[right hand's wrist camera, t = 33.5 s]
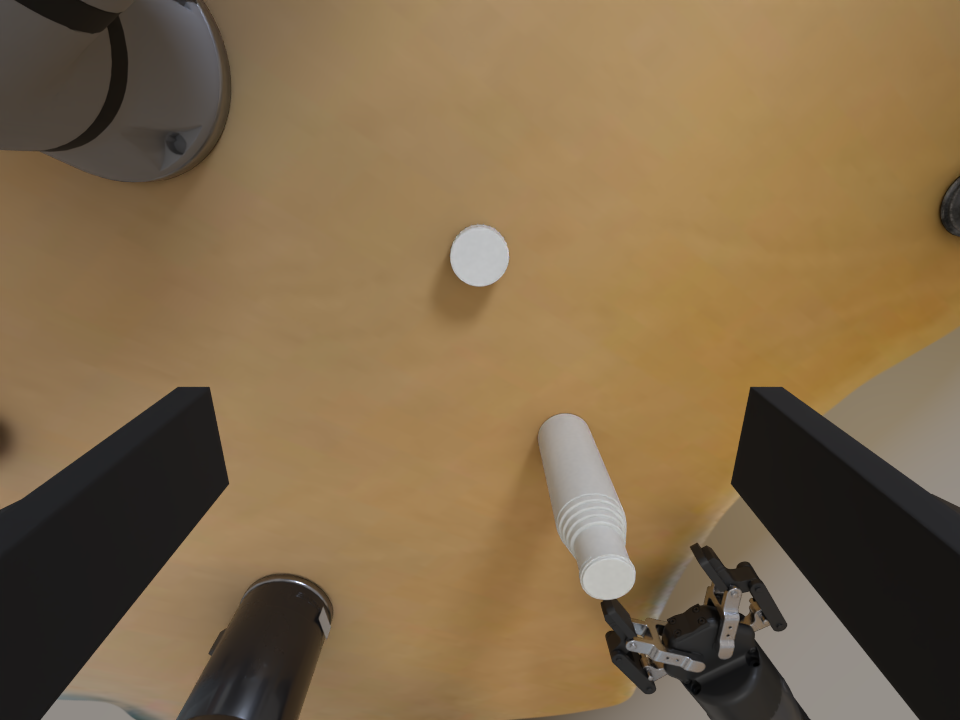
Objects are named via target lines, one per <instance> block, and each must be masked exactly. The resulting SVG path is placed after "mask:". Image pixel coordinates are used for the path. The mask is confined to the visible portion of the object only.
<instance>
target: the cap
mask: <svg viewBox="0 0 960 720" xmlns="http://www.w3.org/2000/svg"><path fill="white" fill-rule="evenodd" d="M452 244H453V245H452V247H451V249H450V250H451V253H450V262H451V266H452V268H453V270H454V272H455V274H456V275H457V276H458V277H459V279H461V280H462V281H463V282H465V283H467V284H469V285H472V286H487V285H490V284H492V283H494V282H496V281H497V280H498V279H499V278H501V276H502V275H503V274H504V272H505V270H506V268H507V266H508V261H509V253H508V252H509V250H508V248H507V243H506V242H505V240H504V237H502V235H501V234H500V232H498V231H497V230H496V229H495V228H492V227H490V226H487V225H484V224H483V225H478V224H477V225H471V226H469V227H467V228H465V229H464V230H462V231H460V233H459V234H458V235H457V236H456V238H455V240H454V241H453V243H452Z"/></svg>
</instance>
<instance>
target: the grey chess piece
mask: <svg viewBox="0 0 960 720" xmlns="http://www.w3.org/2000/svg"><path fill="white" fill-rule="evenodd" d="M941 219H942V223H943V225H944V227H945V228H946V230H947V231H949V232H950V233H951V234H953V235H956V236H959V237H960V177H959V178H958V179H957V180H956V181H955V182H954V183H953V184H952V185H951V187H950V188H949V189H948V191H947V193H946V195H945V196H944V199H943V202H942V205H941Z"/></svg>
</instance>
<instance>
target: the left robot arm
mask: <svg viewBox="0 0 960 720" xmlns="http://www.w3.org/2000/svg"><path fill="white" fill-rule="evenodd" d="M690 548H691V550H692V552H693V554H694V555H695V557H696V559H697V561H698V562H699V564H700V565H701V567H702V568H703V570H704V571H705V572H706V574H707V575H708V576H709V578H710V579H711V580H712V584H711V586H709V587H707V591H706V596H705V600H704V605H702V606H700V605H699V604H696V605H694V606H692V607H691V608H689V609H688V610H687V611H686V612H684V613H682V614H679V615H675V616H673V617H671V618H669V619H667V621H668V622H665V621H661V620H656V619H652V618H646V620H645V621H642V620H637V619H633V618H630V615H629V613H628V612H627V611H626V610H625V609H624V608H623V606H622V605H621V604H620V603H619V602H618V600H617V599H612V600H603V602H601V607H602V611H603V614H604V618H605V621H606V622H607V623H608V624H609V626H610V627H611V628H612V629H613V630H614V631H609V632H607V633H606V635H605V637H606V641H607V645H608V648H609V652H610V656H611V659H612V662H613V663H614V664H615V665H616V666H617V667H618V668H619V669H620V670H621V671H622V672H623V673H624V674H625V675H626V676H627V677H628V678H629V679H630V680H631V681H632V682H633V683H634V684H635V685H636V686H637V687H638V688H639V689H641V690H642V691H643V692H644V693H645V694H652V693H654V692H655V691H656V687H655V684H654V681H656V680H658V679H660V678H662V677H663V676H665V675H667V674H668V675H669V676H671V677H674V678H677V679H679V680H680V681H681V682H682V684H683V685H684V686H685V688H686V689H687V690H688V691H689V692H690V694H691V695H692V696H693V697H694V698H695V699H696V701H697V702H698V703H699V704H700V705H701V707H702V708H703V709H704V710H705V711H706V713H707V715H708V716H709V718H710V719H711V720H810V719H809V718H808V716H807V714H806V713H805V712H804V710H803V709H802V708H801V706H800V705H799V704H798V702H797V701H796V699H795V698H794V697H793V694H792V692H791V690H790V688H789V686H788V685H787V683H786V682H785V680H784V678H783V677H782V676H781V674H780V673H779V672H778V670H777V669H776V668H775V666H774V665H773V664H772V662H771V661H770V659H769V658H768V657H767V655H766V654H765V653H764V651H763V650H762V649H761V647H760V646H759V645H758V643H757V642H756V640H755V639H754V638H755V633H754V632H755V631H758V630H760V629H762V628H765V627H767V626H769V625H771V627H772V628H773V630H774V631H782V630H784V629H785V628H786V627H787V623H786V621H785V620H784V618H783V616H782V614H781V613H780V611H779V609H778V607H777V606H776V604H775V602H774V600H773V599H772V597H771V595H770V593H769V592H768V590H767V588H766V586H765V585H764V583H763V582H762V581H761V580H760V579H759V577H758V576H757V574H756V573H755V571H754V569H753V567H752V566H751V565H750V563H748V562H741V563H739V564H738V565H737V568H736V569H727V568H726V567H725V566H724V565H723V564H722V562H721V561H720V559H719V558H718V557H717V555H716V554H715V552H714V551H713V550H712V548H710V547H708V546H705V547H703V548H701V547H700V546H699V544H698V543H696V544H694V545H692V546H690ZM749 591H750V593H751V595H752V596H753V598H751V599H750V600H749V602H750V603H751V604H750V606H749V609H750V613H749V614H748V615H747V616H746V617H745V616H744V615H743V614H741V613H739V612H738V608H739V604H740V600H741V596H742V593H744V592H749ZM332 618H333V609H332V605H331V602H330V600H329V599H328V597H327V596H326V594H325V593H324V592H323V591H322V590H321V589H320V588H319V587H317V586H316V585H315V584H313V583H311V582H309V581H307V580H305V579H303V578H300V577H296V576H291V575H273V576H268V577H265V578H262V579H260V580H258V581H256V582H255V583H253V584H252V585H251V586H250V587H249V588H248V590H247V591H246V593H245V594H244V596H243V598H242V600H241V603H240V606H239V607H238V609H237V611H236V613H235V615H234V616H233V618H232V620H231V622H230V623H229V625H228V627H227V628H226V629H225V630H223V631H221V632H220V634H219V635H218V637H217V639H216V641H215V643H214V644H213V646H212V648H211V650H210V651H209V654H210V655H211V658H210V660H209V661H208V663H207V665H206V667H205V669H204V670H203V672H202V674H201V676H200V678H199V679H198V681H197V683H196V685H195V687H194V689H193V690H192V692H191V694H190V696H189V698H188V699H187V701H186V703H185V705H184V707H183V708H182V710H181V712H180V714H179V716H178V717H177V719H176V720H298V718H299V715H300V712H301V709H302V706H303V703H304V700H305V697H306V694H307V691H308V688H309V685H310V682H311V679H312V676H313V673H314V670H315V667H316V664H317V661H318V658H319V655H320V652H321V649H322V646H323V643H324V640H325V637H326V639H327V638H328V634H329V631H330V628H331V626H330V625H331V622H332ZM637 634H638V635H641V636H643V638H640V637H637ZM659 635H661V636H662V641H661V640H660V637H659ZM639 653H641V654H639ZM645 654H647V655H649V656H650V657H651V658H652V659H653V660H652V659H650V658H648V657H646V655H645Z"/></svg>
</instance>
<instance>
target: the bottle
mask: <svg viewBox="0 0 960 720" xmlns="http://www.w3.org/2000/svg"><path fill="white" fill-rule="evenodd" d="M538 444H539V448H540V453H541V458H542V462H543V467H544V472H545V476H546V481H547V486H548V490H549V495H550V500H551V504H552V509H553V514H554V518H555V523H556V528H557V531H558V534H559V536H560V538H561V540H562V542H563V543H564V544H565V546H566V547H567V548H568V550H569V551H570V552H571V554H572V555H573V557H574V558H575V559H576V560H577V564H578V568H579V578H580V582H581V585H582V588H583V589H584V591H585V592H586V593H587V594H588V595H590V596H591V597H593V598H596V599H601V600H612V599H616V598H619V597H621V596H623V595H625V594H626V593H628V592H629V591H630V590H631V588H632V587H633V585H634V582H635V573H636V571H635V568H634V565H633V564H632V562H631V561H630V559H629V556H628V553H627V551H626V548H625V544H626V518H625V513H624V510H623V508H622V505H621V503H620V500H619V498H618V496H617V493H616V491H615V489H614V486H613V484H612V481H611V479H610V477H609V474H608V472H607V470H606V467H605V465H604V463H603V460H602V458H601V455H600V453H599V451H598V448H597V446H596V444H595V441H594V439H593V436H592V434H591V432H590V429H589V427H588V425H587V424H586V422H585V421H584V420H583V419H581V418H580V417H578V416H576V415H573V414H558V415H555V416H553V417H551V418H549V419H548V420H546V421H545V422H544V423H543V425H542V426H541V428H540V430H539V433H538Z"/></svg>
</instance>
